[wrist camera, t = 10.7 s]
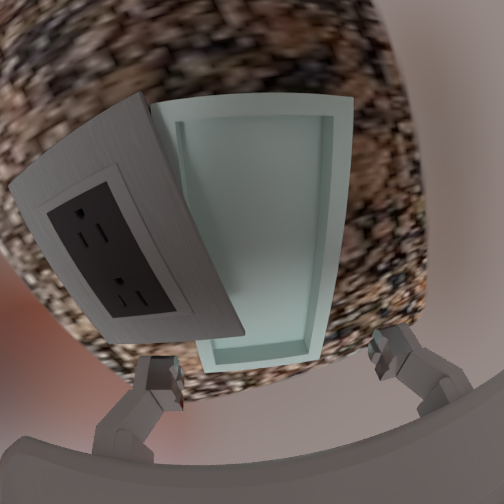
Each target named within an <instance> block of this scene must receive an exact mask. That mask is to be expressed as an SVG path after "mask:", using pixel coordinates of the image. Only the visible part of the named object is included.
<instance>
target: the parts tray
mask: <svg viewBox="0 0 504 504" xmlns="http://www.w3.org/2000/svg"><path fill="white" fill-rule="evenodd" d="M150 107H151V117H152V119H153V122H154V125H155V127H156V130H157V132H158V135H159V137H160V140H161V143H162V145H163V148H164V150H165V153H166V155H167V158H168V160H169V163H170V165H171V167H172V170H173V172H174V175H175V177H176V180H177V182H178V184H179V187H180V189H181V191H182V194H183V196H184V199H185V201H186V203H187V206H188V208H189V210H190V213H191V215H192V217H193V219H194V222H195V224H196V226H197V229H198V231H199V233H200V235H201V238H202V240H203V242H204V244H205V247H206V249H207V251H208V253H209V255H210V258H211V260H212V262H213V264H214V266H215V269H216V271H217V273H218V275H219V277H220V279H221V281H222V284H223V286H224V288H225V290H226V292H227V294H228V296H229V298H230V301H231V303H232V305H233V307H234V309H235V311H236V313H237V315H238V317H239V319H240V321H241V323H242V325H243V327H244V329H245V331H246V332H245V336H239V337H230V338H220V339H209V340H196V341H195V342H196V345H197V349H198V352H199V356H200V359H201V362H202V366H203V369H204V372H205V373H210V372H225V371H237V370H247V369H256V368H265V367H273V366H280V365H287V364H294V363H300V362H306V361H312V360H318V359H319V358H320V353H321V349H322V345H323V341H324V336H325V332H326V328H327V323H328V318H329V313H330V309H331V304H332V299H333V293H334V288H335V282H336V277H337V271H338V265H339V259H340V252H341V246H342V239H343V232H344V224H345V216H346V208H347V199H348V189H349V179H350V167H351V154H352V137H353V112H354V97H346V96H336V95H324V94H307V93H241V94H224V95H212V96H202V97H193V98H185V99H177V100H170V101H164V102H158V103H152V104H150Z"/></svg>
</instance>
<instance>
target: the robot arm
mask: <svg viewBox="0 0 504 504" xmlns="http://www.w3.org/2000/svg"><path fill="white" fill-rule="evenodd" d="M373 337H374V338H373V339H372V340H371V341H370V342H369V345H368V354H369V358H370V360H371V362H373V363H374V364H376V366H375V371H376V373H377V375H378V378H379V380H380V381H382V380H386V379H389V378H393V377H396V378H397V379H398V380H400V381H401V382H402V383H404V384H405V385H406V386H407V387H408V388H410V389H411V390H412V391H413V392H415V393H416V394H417V395H418V396H420V397H421V398H422V399H423V401H422V402H421V403H420V404H419V406H418V407H417V411H418V413H419V416H420V418H419V419H416V420H414V421H412V422H409V423H407V424H405V425H402V426H400V427H397V428H395V429H392V430H390V431H387V432H384V433H381V434H378V435H375V436H373V437H370V438H367V439H363V440H360V441H357V442H354V443H350V444H347V445H343V446H340V447H336V448H332V449H328V450H324V451H319V452H315V453H310V454H306V455H300V456H295V457H289V458H283V459H277V460H269V461H262V462H252V463H241V464H228V465H227V464H226V465H169V464H154V453H153V452H152V450H150V449H149V448H148V447H147V446H146V445H144V444H143V442H144V441H145V439H146V438H147V437H148V435H149V434H150V432H151V431H152V429H153V428H154V426H155V424H156V423H157V422H158V420H159V419H160V417H161V416H162V414H163V413H164V412H163V411H183V406H184V396H183V394H182V392H181V391H182V390H183V389H184V374H183V370H182V367H181V366H179V365H178V364H179V360H178V358H177V356H140V357H139V359H138V362H137V367H136V373H135V378H134V384H133V390H129V391H128V392H127V393H126V394H125V395H124V396H123V397H122V398H121V400H120V401H119V402H118V403H117V404H116V405H115V406H114V407H113V408H112V409H111V410H110V411H109V413H108V414H107V415H106V416H105V417H104V418H103V419H102V420H101V421H100V423H98V425H97V426H96V430H95V436H94V443H93V449H92V454H88V453H83V452H79V451H75V450H71V449H68V448H64V447H60V446H57V445H54V444H50V443H47V442H44V441H41V440H38V439H35V438H33V437H29V436H22V437H21V438H19V439H18V440H17V441H15V442H14V443H13V444H12V445H11V446H10V447H9V448H8V449H6V451H5V452H4V453H3V455H2V457H1V459H0V504H504V370H503V371H501V372H500V373H498V374H497V375H496V376H494V377H493V378H491V379H490V380H488V381H487V382H485V383H483V384H482V385H480V386H479V387H477V388H476V389H473V387H472V386H471V384H470V382H469V381H468V379H467V377H466V375H465V373H464V372H463V370H462V369H461V368H459V367H458V366H456V365H454V364H452V363H451V362H449V361H447V360H446V359H444V358H442V357H441V356H439V355H437V354H435V353H434V352H432V351H430V350H428V349H427V348H422V346H421V345H420V343H419V342H418V340H417V338H416V337H415V335H414V334H413V332H412V330H411V329H410V327H409V326H408V324H407V323H405V322H403V323H399V324H396V325H390V326H387V327H383V328H379V329H376V330H375V331H374V332H373Z"/></svg>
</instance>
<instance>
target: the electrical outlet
mask: <svg viewBox="0 0 504 504" xmlns="http://www.w3.org/2000/svg"><path fill="white" fill-rule="evenodd" d="M8 187H9V189H10V191H11V193H12V196H13V198H14V200H15V202H16V204H17V206H18V208H19V210H20V212H21V214H22V216H23V218H24V220H25V222H26V224H27V226H28V228H29V230H30V232H31V233H32V235H33V237H34V239H35V241H36V242H37V244H38V246H39V248H40V249H41V251H42V253H43V254H44V256H45V258H46V259H47V261H48V262H49V264H50V266H51V267H52V269H53V270H54V272H55V273H56V275H57V276H58V278H59V279H60V281H61V282H62V284H63V285H64V287H65V288H66V289H67V291H68V292H69V294H70V295H71V296H72V298H73V299H74V301H75V302H76V303H77V305H78V306H79V307H80V309H81V310H82V311H83V313H84V314H85V315H86V316H87V318H88V319H89V320H90V321H91V323H92V324H93V325H94V326H95V328H96V329H97V330H98V331H99V332H100V334H101V335H102V336H103V337H104V338H105V340H106V341H107V342H108V343H109V344H141V343H165V342H182V341H196V340H209V339H220V338H230V337H239V336H245V332H246V331H245V329H244V327H243V325H242V323H241V321H240V319H239V317H238V315H237V313H236V311H235V309H234V307H233V305H232V303H231V301H230V298H229V296H228V294H227V292H226V290H225V288H224V286H223V284H222V281H221V279H220V277H219V275H218V273H217V271H216V269H215V266H214V264H213V262H212V260H211V258H210V255H209V253H208V251H207V249H206V247H205V244H204V242H203V240H202V238H201V235H200V233H199V231H198V229H197V226H196V224H195V222H194V219H193V217H192V215H191V213H190V210H189V208H188V206H187V203H186V201H185V199H184V196H183V194H182V191H181V189H180V187H179V184H178V182H177V180H176V177H175V175H174V172H173V170H172V167H171V165H170V163H169V160H168V158H167V155H166V153H165V150H164V148H163V145H162V143H161V140H160V137H159V135H158V132H157V130H156V127H155V125H154V122H153V119H152V117H151V114H150V112H149V109H148V106H147V104H146V101H145V98H144V95H143V93H142V92H137V93H135V94H133V95H131V96H129V97H128V98H126V99H124V100H122V101H120V102H119V103H117V104H115V105H113V106H112V107H110V108H108V109H107V110H105V111H103V112H102V113H100V114H99V115H97V116H95V117H94V118H92V119H91V120H89V121H88V122H86V123H85V124H83V125H82V126H80V127H79V128H77V129H76V130H74V131H73V132H72V133H70V134H69V135H67V136H66V137H65V138H63V139H62V140H61V141H59V142H58V143H57V144H55V145H54V146H53V147H51V148H50V149H49V150H48V151H46V152H45V153H44V154H43V155H41V156H40V157H39V158H38V159H37V160H35V161H34V162H33V163H32V164H31V165H30V166H28V167H27V168H26V169H25V170H24V171H23V172H22V173H21V174H20V175H18V176H17V177H16V178H15V179H14V180H13V181H12V182H11V183H10V184H9V185H8Z"/></svg>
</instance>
